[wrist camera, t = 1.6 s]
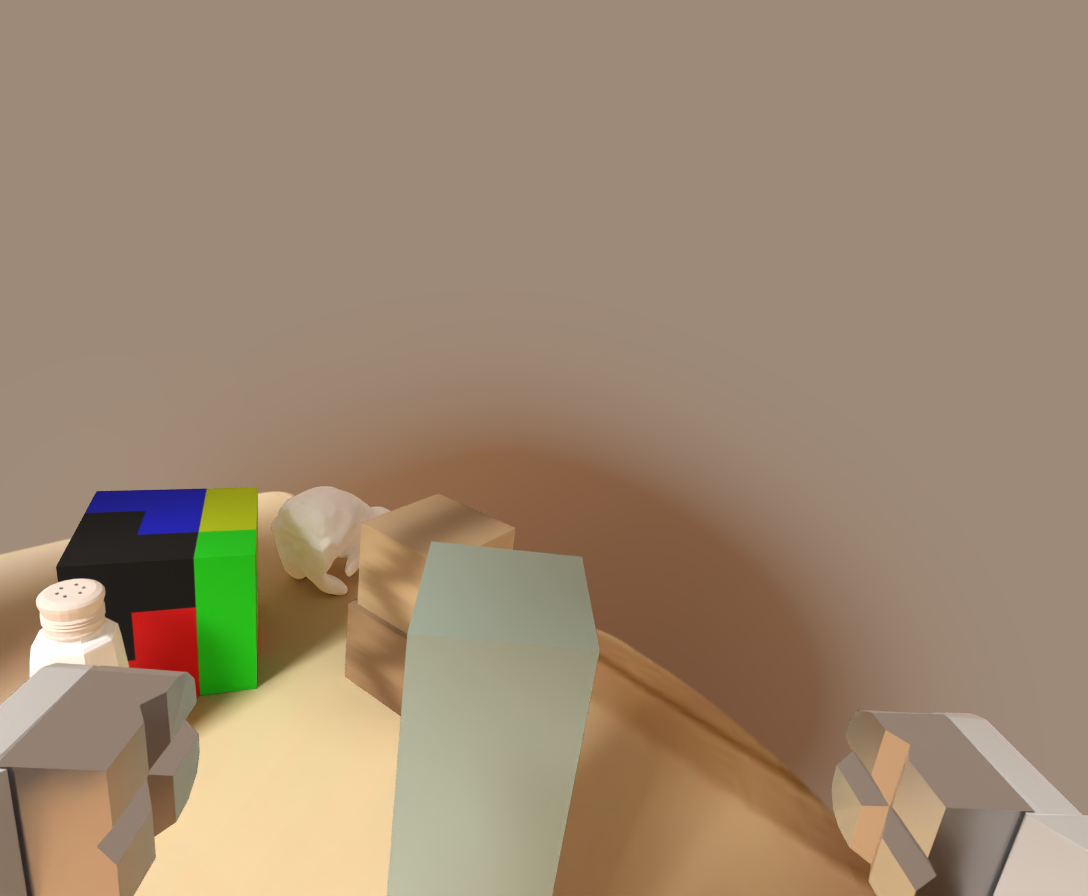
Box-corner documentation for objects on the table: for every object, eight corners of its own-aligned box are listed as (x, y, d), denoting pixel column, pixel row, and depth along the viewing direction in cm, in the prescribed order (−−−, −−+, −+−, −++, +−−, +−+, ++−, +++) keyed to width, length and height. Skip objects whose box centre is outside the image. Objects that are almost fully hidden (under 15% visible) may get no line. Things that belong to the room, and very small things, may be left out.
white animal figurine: (266, 485, 52) (370, 460, 62) (258, 584, 54) (360, 543, 65) (326, 510, 49) (424, 479, 60) (315, 612, 51) (412, 565, 62)
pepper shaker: (38, 823, 33) (9, 636, 29) (21, 754, 36) (-7, 580, 33) (160, 772, 36) (148, 600, 33) (133, 714, 40) (120, 553, 36)
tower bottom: (345, 678, 46) (348, 603, 44) (427, 629, 52) (433, 562, 50) (429, 737, 42) (436, 658, 40) (507, 676, 48) (517, 606, 46)
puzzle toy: (108, 616, 48) (96, 491, 45) (258, 603, 52) (257, 487, 49) (74, 713, 40) (56, 566, 36) (256, 689, 43) (255, 554, 40)
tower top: (357, 603, 44) (360, 522, 42) (432, 567, 49) (438, 493, 47) (434, 651, 40) (442, 564, 38) (505, 605, 46) (515, 528, 44)
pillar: (372, 1075, 25) (407, 633, 19) (397, 928, 30) (431, 541, 24) (516, 1080, 26) (599, 650, 19) (516, 934, 31) (582, 556, 24)
